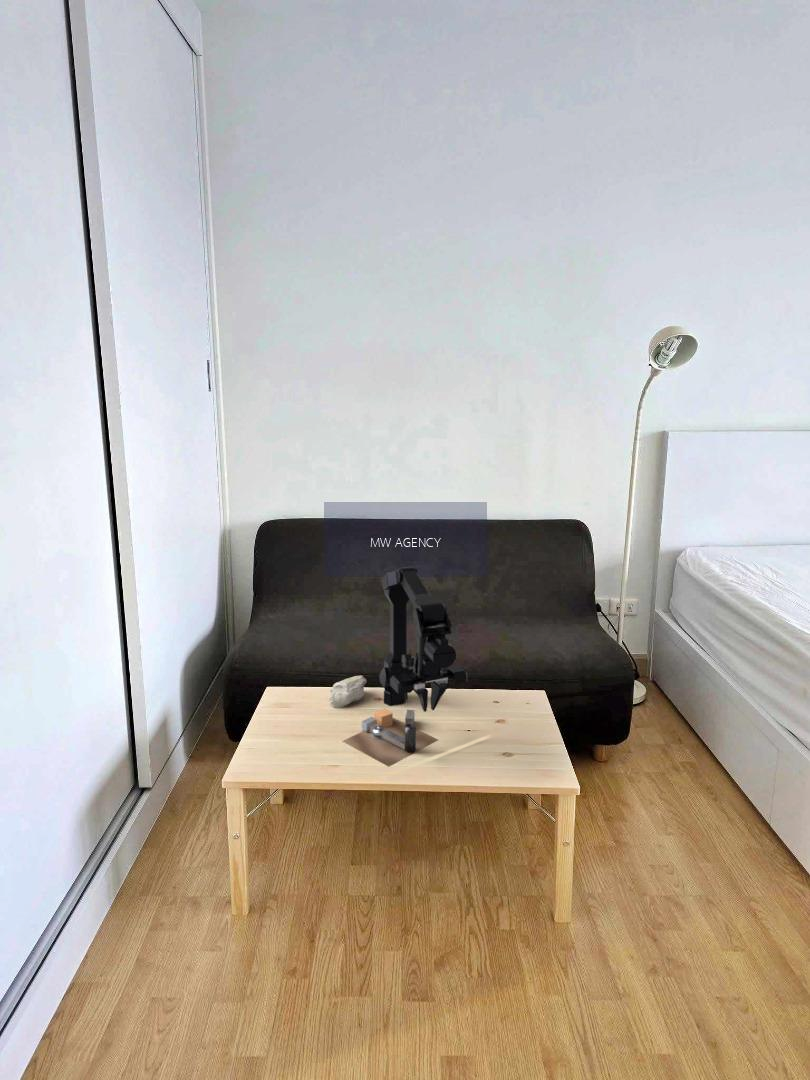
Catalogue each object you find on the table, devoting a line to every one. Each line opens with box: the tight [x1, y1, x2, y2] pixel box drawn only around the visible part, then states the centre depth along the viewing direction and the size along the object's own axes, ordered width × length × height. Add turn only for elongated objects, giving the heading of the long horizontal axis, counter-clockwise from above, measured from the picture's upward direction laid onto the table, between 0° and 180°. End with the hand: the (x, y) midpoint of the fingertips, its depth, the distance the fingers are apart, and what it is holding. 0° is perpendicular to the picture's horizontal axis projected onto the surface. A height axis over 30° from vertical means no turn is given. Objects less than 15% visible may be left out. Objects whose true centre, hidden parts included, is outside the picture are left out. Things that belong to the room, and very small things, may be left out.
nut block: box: [373, 708, 394, 727], centre depth 195 cm, size 4×4×4 cm
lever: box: [361, 716, 417, 752], centre depth 187 cm, size 4×17×6 cm, turn 46°
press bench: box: [342, 709, 439, 768], centre depth 188 cm, size 20×17×4 cm
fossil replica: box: [328, 675, 368, 709], centre depth 209 cm, size 12×8×10 cm
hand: (428, 710), depth 182 cm, fingers closed
